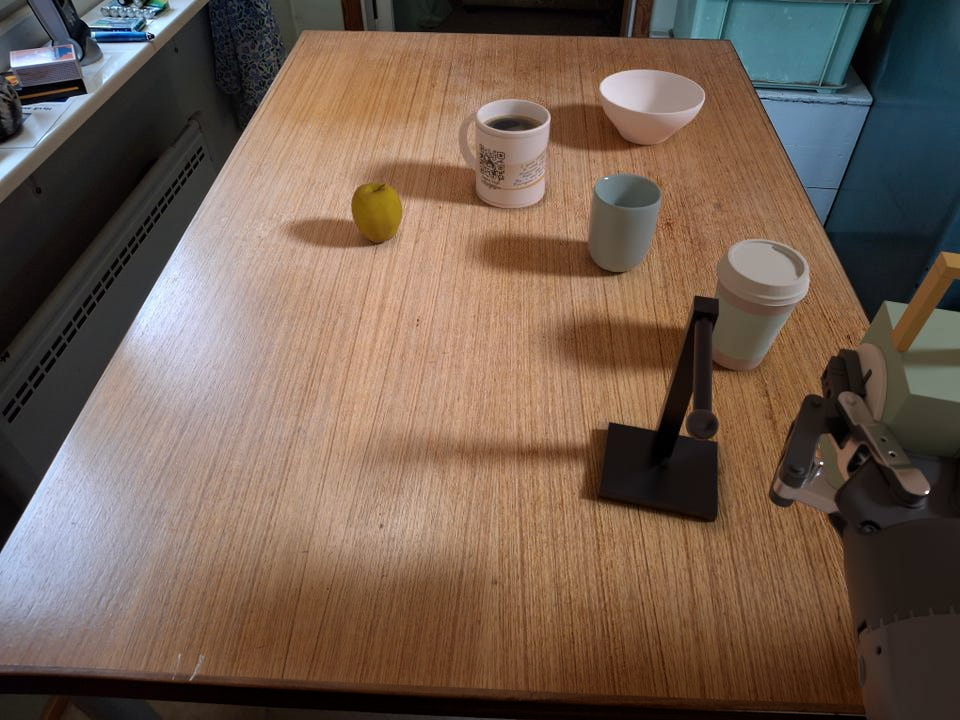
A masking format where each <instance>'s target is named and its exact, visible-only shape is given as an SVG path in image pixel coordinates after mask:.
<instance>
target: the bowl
mask: <svg viewBox="0 0 960 720" xmlns="http://www.w3.org/2000/svg"><path fill="white" fill-rule="evenodd" d="M598 97H599V103H600V105H601V107H602V109H603V112H604V113H605V115H606V116H607V118H608V119H609V120H610V122H611V123H612V124H613V125H614V127H615V128H616V130H617V131H618V132H619V135H620V136H621V137H622V138H623V139H624V140H626V141H628V142H630V143H633V144H637V145H644V146H653V145H658V144H661V143H663V142H665V141H667V140H668V139H669V138H670V137H671V136H672V135H673V134H675V133H676V132H678V131H679V130H680V129H682V128H684V127H685V126H686V125H688V124H689V123H691V122H692V121H693V120H694V119H695V118H696V117H697V115H698V114H699V112H700V111H701V109H702V107H703V105H704V103H705V100H706V92H705V91H704V89H703V88H702V87H701V85H699V84H698V83H696V82H695V81H694V80H692V79H689V78H687V77H685V76H684V75H680V74H677V73H673V72H669V71H664V70H657V69H629V70H624V71H623V70H622V71H619V72H616V73H615V72H614V73H613V74H610V75H609V76H606V77H604V78H603V80H601V82H600V83H599V86H598Z"/></svg>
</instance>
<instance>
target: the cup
mask: <svg viewBox="0 0 960 720" xmlns="http://www.w3.org/2000/svg"><path fill="white" fill-rule="evenodd" d="M662 199H663V197H662V191H661V188H660V187H659V185H657V183H656V182H655V181H653V180H651V178H648V177H646V176H643V175H640V174H635V173H612V174H608V175H605V176H602V177H600V178H598V179H597V181H596V182H595V183H594V185H593V187H592V194H591V200H590V208H589V217H588V224H587V246H588V252H589V255H590V257H591V259H592V261H593V262H594V263H595V264H596V265H597V266H598V267H599V268H601V269H603V270H605V271H608V272H613V273H624V272H629V271H632V270H635V269H637V267H639V266H640V265H641V264H642V263H643V262H644V260H645V259H646V257H647V255H648V254H649V251H650V249H651V245H652V242H653V240H654V236H655V232H656V229H657V225H658V220H659V215H660V212H661V205H662Z"/></svg>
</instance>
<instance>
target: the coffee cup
mask: <svg viewBox="0 0 960 720" xmlns="http://www.w3.org/2000/svg"><path fill="white" fill-rule="evenodd" d="M715 270H716V272H715V273H716V277H717V281H716V286H715V292H714V297H713V298H717V299H719V316H718V319H717V322H716V325H715V328H714V331H713V334H712V361H713V362H714V363H716V364H717V365H719V366H721V367H723V368H725V369H728V370H732V371H738V372H741V371H742V372H743V371H744V372H745V371H751V370H753V369H756V368H757V367H758V366H759V365H760V364H761V363H762V361H763V360H764V358H765V356H766V354H767V353H768V352H769V350H770V349H771V346H772V345H773V343H774V342H775V340H776V338H777V337H778V335H779V333H780V332H781V330H782V329H783V327H784V325H785V324H786V322H787V321H788V319H789V317H790V316H791V315H792V313H793V311H794V310H795V307H796V306H797V304H798V303H799V302H800V301H801V300H802V299H804V298H805V297H806V295H807V294H808V291H809V286H810V282H811V278H810V266H809V263H808V262H807V259H806V258H805V257H804V256H803V255H802V254H801V253H800V252H799V251H797V250H796V249H794V248H793V247H791V246H790V245H787V244H785V243H782V242H780V241H775V240H771V239H766V238H748V239H743V240H740V241H737V242H735V243H734V244H732V245H731V246H730V247H729V249H728V250H727V251H726V252H725V253H724V254H723V255H722V257H721V258H720V260H719V261H718V263H717V265H716V269H715Z"/></svg>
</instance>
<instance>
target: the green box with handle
mask: <svg viewBox="0 0 960 720" xmlns="http://www.w3.org/2000/svg"><path fill="white" fill-rule="evenodd" d="M954 280H960V253H957V252H956V253H954V252H947V251H940V252H939V254H938V256H937V257H936V259H935V260H934V262H933V264H932V266H931V268H930V269H929V271H928V272H927V274H926V276H925V277H924V279H923V280H922V282H921V284H920V285H919V287H918V289H917V290H916V292H915V294H914V295H913V297H912V299H911V301H910V302H909V303H902V302H895V301H889V300H883V302H882V304H881V306H880V307H879V308H878V310H877V313H876V314H875V316H874V318H873V319H872V321H871V322H870V325H869V326H868V328H867V329H866V332H865V333H864V335H863V336H862V338H861V340H860V342H859V344H858V346H856V348H854V349H853V350H856V352H857V356H858V361H859V365H860V370H861V375H862V379H863V384H864V389H865V393H866V395H865V396H864V398H863V401H864V403H865V404H866V406H867V407H868V409H869V410H870V412H871V414H872V415H873V417H874V419H875V420H876V422H877V423H884V424H886V425H887V426H888V428H889V429H890V431H891V432H892V434H893V435H894V437H895V438H896V440H897V442H898V443H899V445H900V446H901V448H902V449H906V450H909V451H911V452H914V453H917V454H920V455H923V456H946V457H952V456H953V455H954V454H955V452H956V451H957V450H958V449H959V447H960V311H954V310H948V309H941V308H937V306H938V305H939V303H940V302H941V300H942V298H943V297H944V295H945V294H946V292H947V290H948V289H949V288H950V286H951V285H952V283H953V282H954ZM818 446H819V452H820V458H821V459H822V460H823V462H824V463H823V465H822V466H823V467H824V469H825V470H826V478H827V481H828V482H829V483H830V484H831V485H832V486H833V487H835V488H837V489H839V488H840V487H841V486H842V485H843V484H844V483H845V481H844V479H843V477H842V475H841V473H840V472H839V470H838V467H837V463H836V460H837V455H836V452H835V450H834V448H833V446H832V445H831V443H830V441H829V439H828V437H827V436H826V434H821V436H820V439H819V443H818Z"/></svg>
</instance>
